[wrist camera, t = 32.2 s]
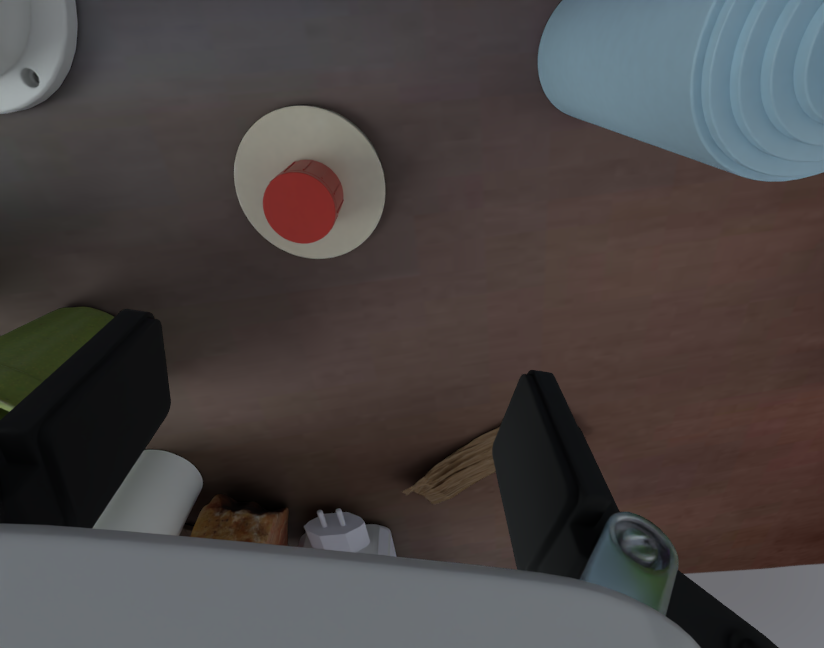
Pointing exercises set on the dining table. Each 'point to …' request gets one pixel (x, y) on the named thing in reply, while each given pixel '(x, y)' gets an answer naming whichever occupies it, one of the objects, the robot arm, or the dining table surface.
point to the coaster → (320, 141)
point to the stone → (241, 522)
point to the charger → (347, 534)
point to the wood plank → (458, 470)
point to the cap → (303, 201)
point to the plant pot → (43, 350)
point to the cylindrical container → (154, 495)
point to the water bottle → (696, 78)
